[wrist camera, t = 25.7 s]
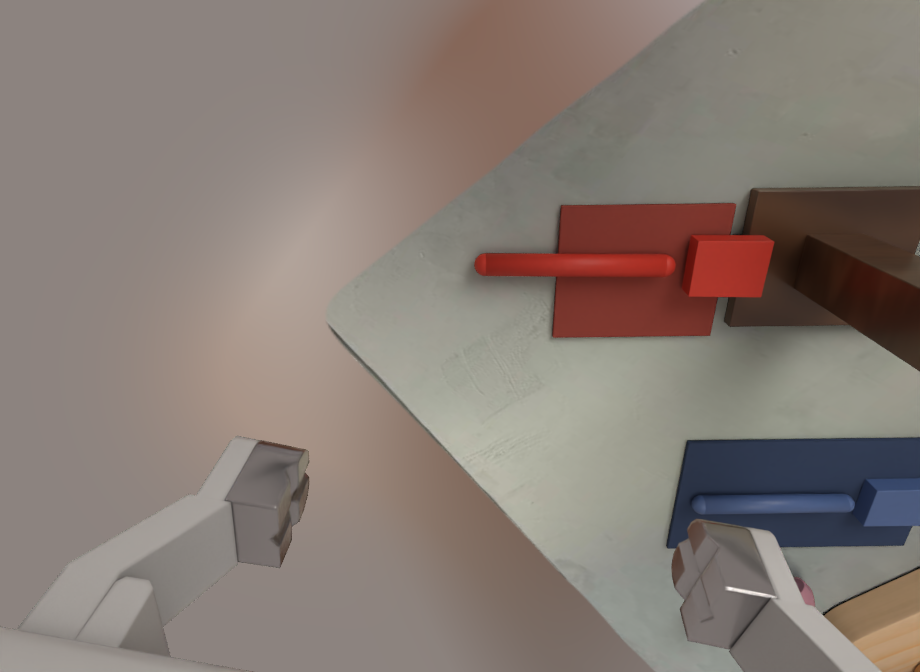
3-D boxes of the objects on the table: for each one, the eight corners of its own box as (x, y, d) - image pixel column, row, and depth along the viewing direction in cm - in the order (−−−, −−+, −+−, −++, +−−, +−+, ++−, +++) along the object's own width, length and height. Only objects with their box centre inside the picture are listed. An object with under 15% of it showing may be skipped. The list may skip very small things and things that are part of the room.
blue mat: (687, 440, 48) (688, 443, 47) (947, 437, 48) (950, 439, 47) (666, 545, 53) (667, 548, 52) (900, 542, 53) (903, 545, 52)
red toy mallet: (474, 287, 41) (474, 295, 40) (474, 233, 40) (474, 240, 38) (751, 289, 41) (761, 297, 39) (764, 235, 39) (774, 241, 37)
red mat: (560, 205, 39) (561, 206, 39) (734, 203, 39) (736, 204, 39) (552, 335, 43) (553, 337, 43) (708, 333, 43) (710, 335, 43)
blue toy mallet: (685, 515, 51) (692, 528, 49) (692, 480, 49) (699, 493, 48) (907, 513, 51) (920, 526, 49) (922, 477, 49) (936, 490, 48)
